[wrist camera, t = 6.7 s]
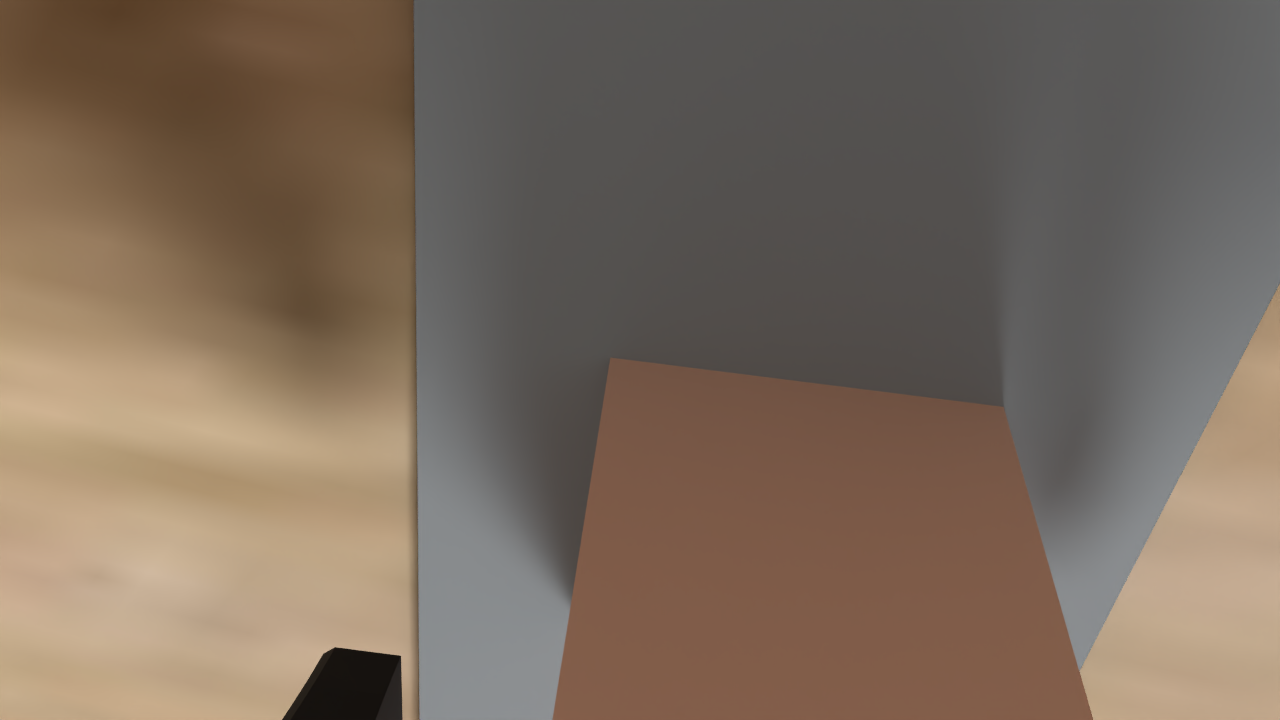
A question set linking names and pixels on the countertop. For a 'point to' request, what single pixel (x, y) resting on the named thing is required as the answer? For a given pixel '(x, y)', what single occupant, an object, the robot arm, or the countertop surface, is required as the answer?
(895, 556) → the terracotta block
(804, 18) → the slate mat
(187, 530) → the countertop surface
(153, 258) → the countertop surface
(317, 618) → the countertop surface
